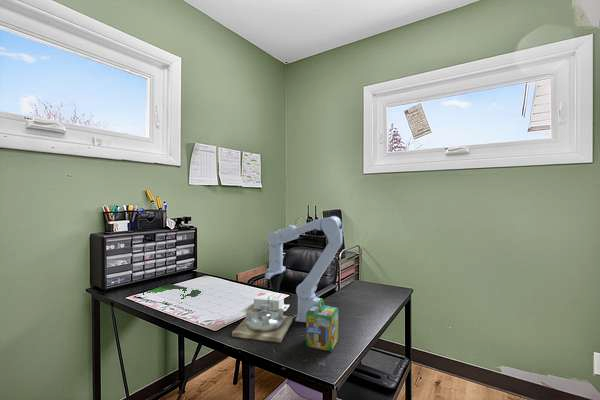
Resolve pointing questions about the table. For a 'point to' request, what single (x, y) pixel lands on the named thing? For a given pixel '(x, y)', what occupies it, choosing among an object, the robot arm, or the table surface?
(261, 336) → the base plate
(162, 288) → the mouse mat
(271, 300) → the ink cartridge box
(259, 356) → the table surface
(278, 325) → the clear bowl
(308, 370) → the table surface
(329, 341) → the chalk box
